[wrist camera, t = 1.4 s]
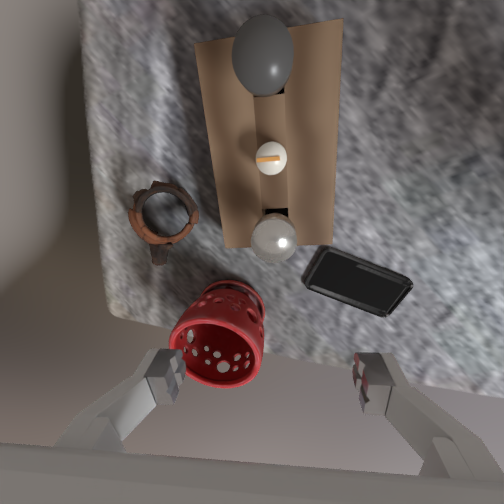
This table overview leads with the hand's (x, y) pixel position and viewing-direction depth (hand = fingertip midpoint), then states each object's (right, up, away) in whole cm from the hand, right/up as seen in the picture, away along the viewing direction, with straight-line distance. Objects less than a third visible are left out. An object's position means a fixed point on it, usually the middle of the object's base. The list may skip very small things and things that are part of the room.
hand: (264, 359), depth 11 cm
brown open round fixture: (-13, +11, +26) cm, 31 cm away
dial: (+2, +16, +16) cm, 22 cm away
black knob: (+1, +23, +13) cm, 26 cm away
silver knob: (+2, +9, +19) cm, 21 cm away
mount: (+2, +18, +20) cm, 27 cm away
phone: (+16, +1, +27) cm, 32 cm away
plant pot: (-4, -4, +32) cm, 32 cm away
